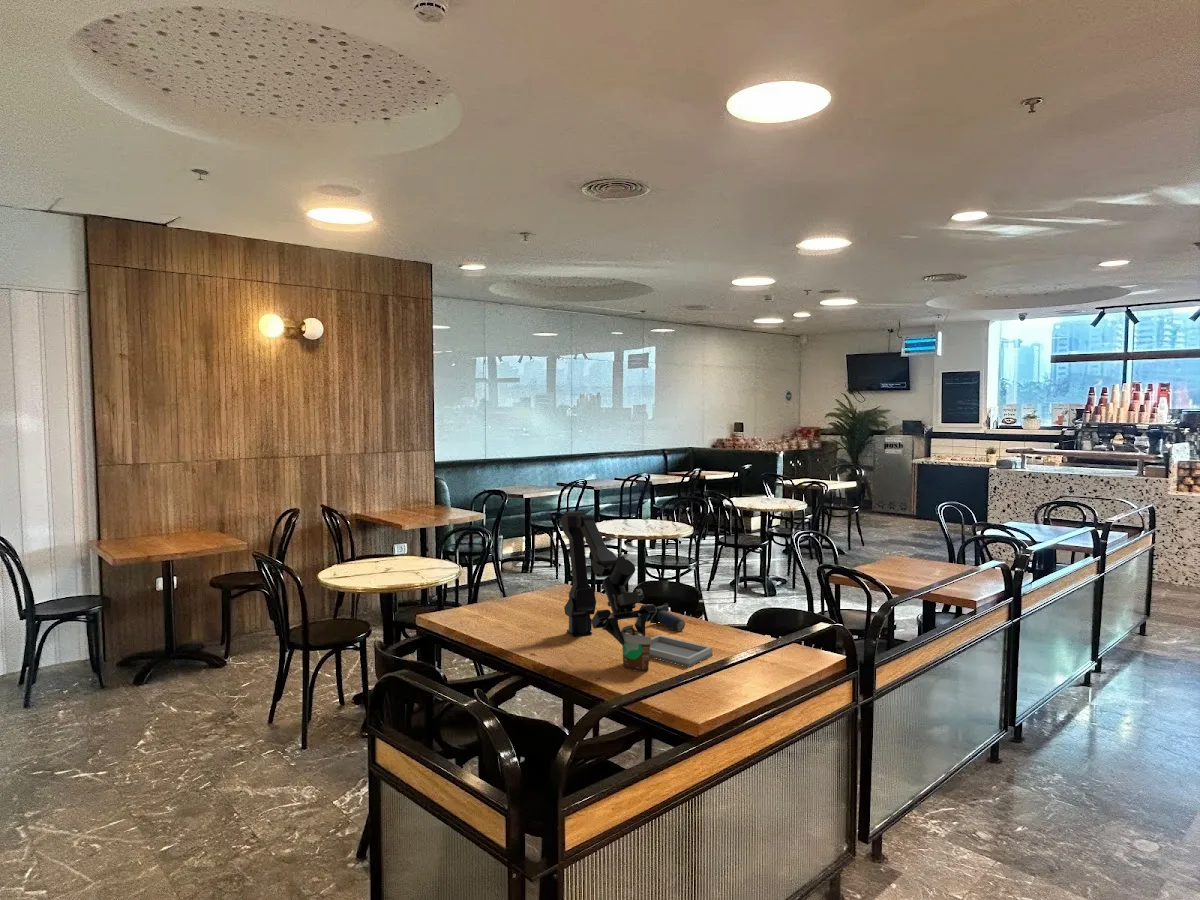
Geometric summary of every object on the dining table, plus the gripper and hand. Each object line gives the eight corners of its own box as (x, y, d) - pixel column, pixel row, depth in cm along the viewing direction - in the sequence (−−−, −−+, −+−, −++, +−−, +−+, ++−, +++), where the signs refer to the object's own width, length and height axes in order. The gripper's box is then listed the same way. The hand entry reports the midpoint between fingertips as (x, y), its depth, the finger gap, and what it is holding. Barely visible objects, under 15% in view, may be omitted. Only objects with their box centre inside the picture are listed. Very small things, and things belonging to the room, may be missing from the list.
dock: (688, 667, 206) (688, 658, 206) (634, 653, 218) (634, 645, 218) (712, 655, 216) (712, 647, 216) (658, 642, 228) (659, 634, 228)
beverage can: (649, 628, 248) (674, 639, 239) (647, 607, 246) (672, 617, 237) (668, 619, 253) (693, 629, 244) (666, 598, 252) (691, 607, 242)
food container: (611, 660, 210) (612, 626, 210) (631, 658, 213) (632, 624, 212) (630, 675, 199) (631, 639, 199) (650, 672, 202) (651, 636, 201)
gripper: (596, 582, 204) (613, 632, 195) (654, 576, 212) (673, 624, 203) (584, 603, 212) (600, 652, 203) (641, 596, 220) (659, 644, 210)
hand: (633, 642), depth 204 cm, fingers closed on food container, 6 cm apart
